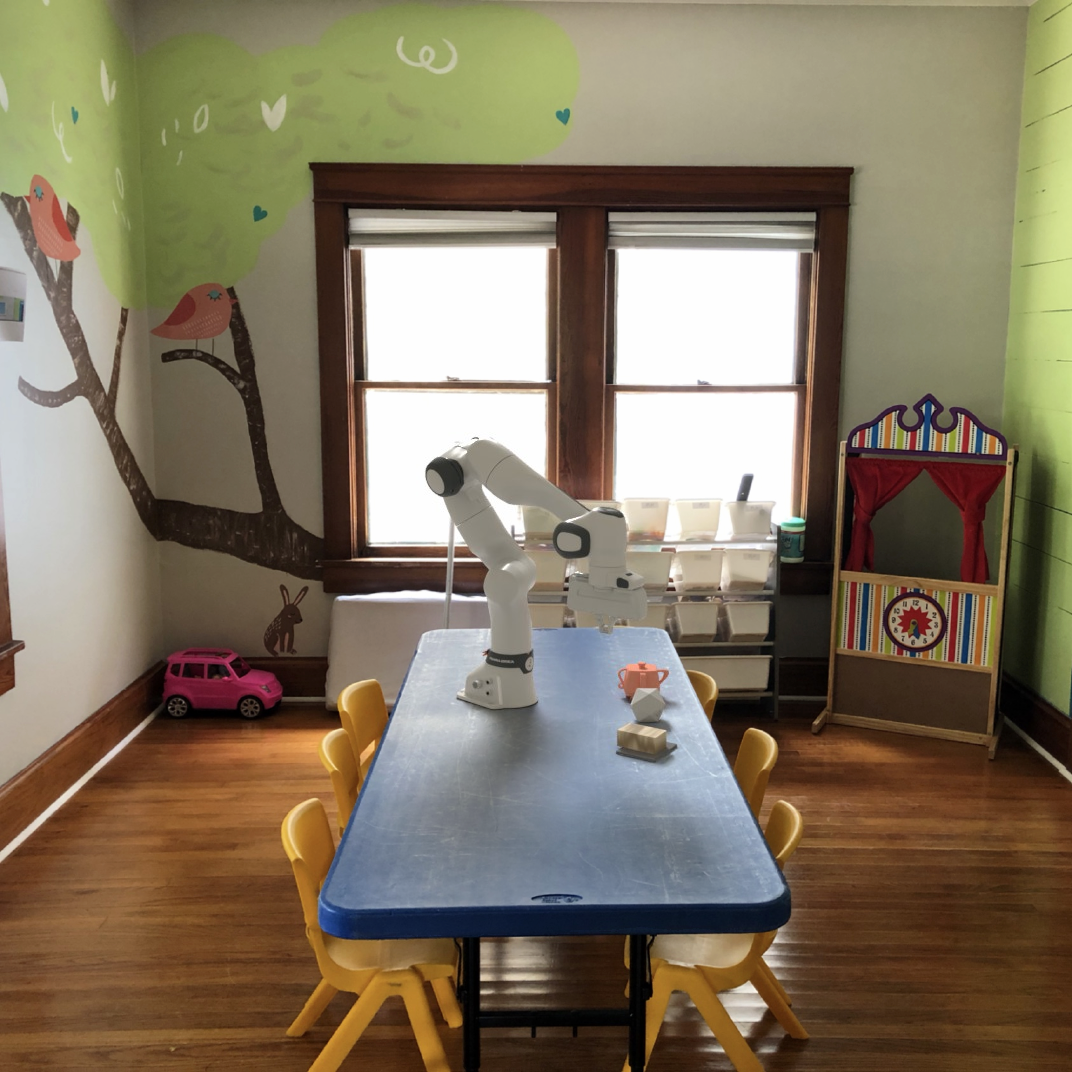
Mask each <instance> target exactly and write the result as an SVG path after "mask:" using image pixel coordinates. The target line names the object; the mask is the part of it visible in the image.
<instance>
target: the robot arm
mask: <svg viewBox="0 0 1072 1072" xmlns="http://www.w3.org/2000/svg"><path fill="white" fill-rule="evenodd" d="M424 473H425V474H424V477H425V481H426V483H427V485H428V487H429V489H430V490H431V491H432V492H433V493H434V494H435V495H437V496H438V497H440V498H443V502H444V504H445V507H446V509H447V512H448V514H449V516H450V519H451V521H452V522H453V524H454V526H455V527H456V529H457V530H458V532H459V534H460V536H461V538H462V539H463V540H464V542H465V544H466V546H467V548H468V549H469V551H470V552H471V554H473V555H474V556H476V557H477V558H478V559H479V560H480V561H481V563H482V564H483V565H484V566H485V567H486V568H487V569H488V571H487V573H486V574H485V578H484V580H483V586H482V587H483V591H484V594H485V596H486V602H487V608H488V612H489V619H490V647H489V648H488V649H487V650H485V651H482V652H481V653H483V654H482V657H484V656H486V658H485V661H484V662H482V663H481V664H479V665H478V666H477V667H475V668H474V669H473V670H471V671H470V672H469V673H468V674H467V676H466V679H465V684H464V687H463V688H460V690H458V691H457V692H456V698H457V699H460V700H463V701H466V702H470V703H472V704H475V705H478V706H481V707H485V708H487V709H490V710H500V709H501V710H502V709H516V708H524V707H525V708H526V707H529V706H531V705H532V706H533V705H534V704H536V703H537V702H538V700H539V698H538V695H537V690H536V685H535V680H534V679H535V678H534V664H535V662H534V659H535V658H534V648H533V641H532V640H533V620H532V618H531V613H530V609H529V603H528V601H529V600H528V593H529V591H530V590H531V589H533V587H534V585H535V584H536V582H537V577H538V567H537V565H536V562H535V561H534V560H533V558H531V557H530V556H528V555H527V554H526V552H525V551H524V550H523V548H522V547H521V545H519V543H517V541H516V540H515V539H514V537H513V536H512V535H511V534H510V533H509V531H508V530H507V528H506V527H505V525H504V524H503V522H502V520H501V519H500V517H499V515H498V513H497V512H496V510H495V508H494V506H492V503H491V502H490V501H489V499H488V498H487V496H486V494H485V492H484V490H483V487H484V488H485V489H487V490H488V491H489V492H490V493H491V494H492V495H494V497H496V499H499V500H501V501H502V502H504V503H506V504H508V505H511V506H512V505H513V506H524V507H527V506H528V507H533V508H539V509H543V510H545V511H547V512H549V513H551V514H552V515H553V516H555V517H556V518H557V519H559V520H560V521H561V522H560V523H558V524H557V525H556V526H555V528H554V530H553V532H552V533H553V534H552V545H553V547H554V550H555V551H556V553H557V555H559V556H560V557H562V558H563V559H566V560H579V559H587V560H588V573H586V572H584V573H583V572H582V573H581V572H579V571H576V572H574V573H571V574H570V575H569V577H568V586H569V587H568V593H567V599H566V606H567V608H568V609H569V611H576V612H582V613H585V614H586V613H587V614H593V615H594V620H595V622H596V624H597V625H598V632H599V633H600V634H605V635H611V634H613V633H614V626H615V624H616V623H617V621H618V619H625V620H632V621H637V622H638V621H639V622H640V621H642V620H644V619H645V618H646V617H647V615H648V608H649V607H648V594H647V592H646V589H645V588H644V587H643V586H644V585H645V584H646V578H645V577H644V576H643V575H641V574H639V573H636V572H634V571H633V570H631V569H628V568H627V560H626V557H625V555H626V554H625V553H626V549H627V547H628V546H627V545H628V543H627V541H628V538H627V535H628V534H627V533H628V532H627V522H626V518H625V514H624V513H623V512H622V511H621V510H620V509H616V508H614V507H611V506H610V507H609V506H596V507H594V508H593V509H589V507H586V506H585V505H584V504H582V503H581V502H579V501H578V500H577V499H575V498H574V497H573V496H571V495H570V494H569V493H567V492H566V491H564V490H563V488H560V487H559V486H558V485H556V484H554V483H553V482H552V481H550V480H548V479H547V478H545V477H544V476H543V475H542V474H540V473H538V472H537V471H535V469H533V468H532V467H530V466H529V465H528V464H527V462H525V461H524V460H522V459H521V458H520V457H519V456H518V455H516V454H515V453H514V452H512V451H511V450H510V449H509V448H508V447H506V446H505V445H503V444H502V443H500V442H499V441H497V440H495V439H494V438H492V437H491V436H489V435H478V436H475V437H472V438H471V439H469V440H466V441H464V442H461V443H459V444H457V445H455V446H453V447H452V448H450V449H449V450H447V451H446V452H444V453H443V454H442V455H440V456H437V457H435V458H433V459H432V460H430V462H429V463H428V464H427V465H426V467H425V471H424ZM606 616H607V617H608V621H609V622H608V624H605V622H604V621H605V620H604V619H603V618H604V617H606Z"/></svg>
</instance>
